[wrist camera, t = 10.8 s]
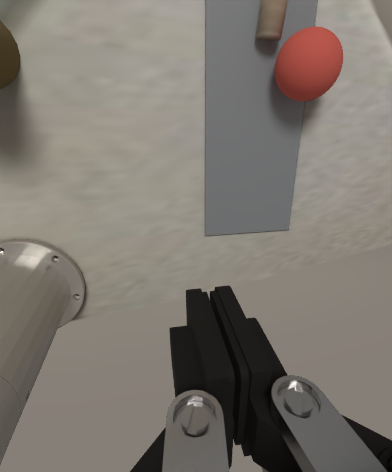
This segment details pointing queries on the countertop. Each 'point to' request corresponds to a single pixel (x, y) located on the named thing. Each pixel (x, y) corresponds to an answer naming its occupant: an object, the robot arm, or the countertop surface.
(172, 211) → the countertop surface
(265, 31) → the pin
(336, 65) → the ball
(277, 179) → the plate
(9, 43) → the cork
